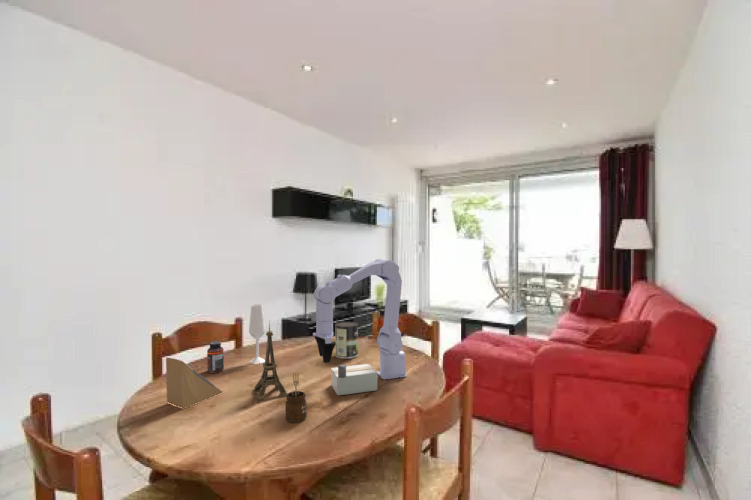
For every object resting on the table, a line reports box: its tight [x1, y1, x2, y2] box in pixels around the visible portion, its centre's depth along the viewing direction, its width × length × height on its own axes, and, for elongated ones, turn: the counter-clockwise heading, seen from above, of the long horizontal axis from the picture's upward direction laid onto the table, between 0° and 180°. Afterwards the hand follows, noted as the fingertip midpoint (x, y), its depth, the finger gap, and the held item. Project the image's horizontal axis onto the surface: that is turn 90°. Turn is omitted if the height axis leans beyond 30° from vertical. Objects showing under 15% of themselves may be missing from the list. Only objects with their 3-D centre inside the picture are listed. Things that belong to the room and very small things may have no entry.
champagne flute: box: [248, 303, 267, 365], centre depth 162 cm, size 7×7×24 cm
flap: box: [337, 364, 378, 396], centre depth 128 cm, size 14×3×10 cm, turn 109°
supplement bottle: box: [206, 340, 225, 373], centre depth 151 cm, size 6×6×11 cm
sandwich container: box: [165, 357, 224, 408], centre depth 125 cm, size 9×15×15 cm, turn 150°
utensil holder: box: [284, 373, 307, 423], centre depth 110 cm, size 6×6×12 cm
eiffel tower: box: [251, 319, 289, 403], centre depth 128 cm, size 11×11×25 cm
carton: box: [330, 363, 377, 396], centre depth 134 cm, size 14×10×6 cm
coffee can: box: [334, 321, 359, 360], centre depth 171 cm, size 10×10×14 cm
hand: (324, 359), depth 133 cm, fingers open, 7 cm apart
